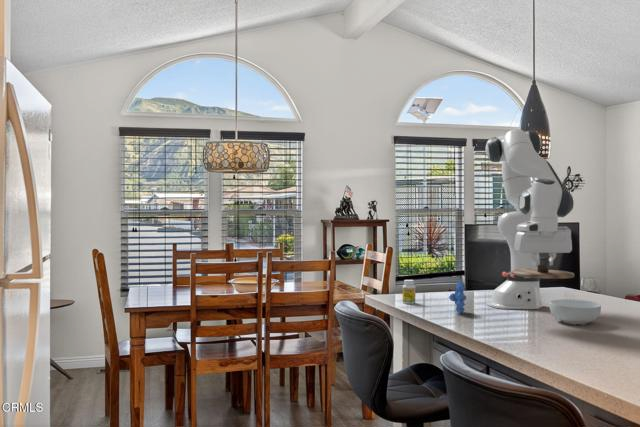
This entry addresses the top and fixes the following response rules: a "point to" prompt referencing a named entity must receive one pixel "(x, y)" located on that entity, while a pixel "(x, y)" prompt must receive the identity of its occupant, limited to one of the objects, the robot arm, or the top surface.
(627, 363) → the top surface
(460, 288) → the grapes
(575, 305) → the cereal bowl
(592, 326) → the top surface
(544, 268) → the lid
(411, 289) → the supplement bottle
